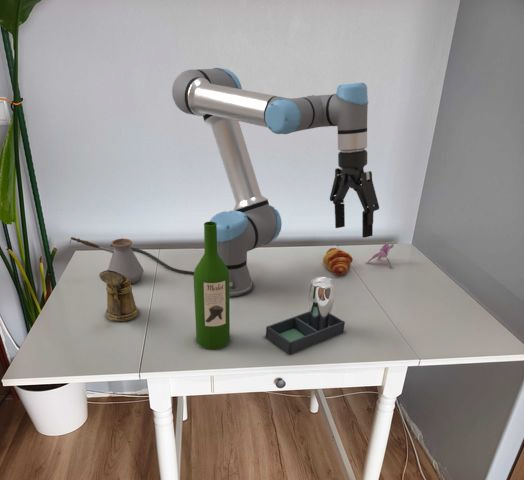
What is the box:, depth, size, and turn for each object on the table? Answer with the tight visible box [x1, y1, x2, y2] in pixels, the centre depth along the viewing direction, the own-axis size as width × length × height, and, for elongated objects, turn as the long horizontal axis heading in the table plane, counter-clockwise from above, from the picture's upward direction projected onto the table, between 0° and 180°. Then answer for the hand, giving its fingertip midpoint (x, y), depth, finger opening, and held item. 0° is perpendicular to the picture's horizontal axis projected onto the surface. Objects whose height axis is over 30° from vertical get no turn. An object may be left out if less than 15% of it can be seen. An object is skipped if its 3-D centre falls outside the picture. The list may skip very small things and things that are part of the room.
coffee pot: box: [69, 236, 144, 284], centre depth 159 cm, size 21×12×15 cm, turn 100°
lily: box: [366, 240, 399, 268], centre depth 180 cm, size 12×12×10 cm
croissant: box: [322, 247, 353, 276], centre depth 177 cm, size 21×10×8 cm, turn 0°
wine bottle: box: [193, 221, 231, 350], centre depth 126 cm, size 9×9×32 cm
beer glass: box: [307, 276, 336, 331], centre depth 137 cm, size 7×7×15 cm
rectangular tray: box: [265, 311, 346, 355], centre depth 138 cm, size 10×20×4 cm, turn 127°
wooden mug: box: [98, 269, 139, 323], centre depth 138 cm, size 9×14×18 cm, turn 2°
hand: (353, 231), depth 139 cm, fingers open, 13 cm apart
